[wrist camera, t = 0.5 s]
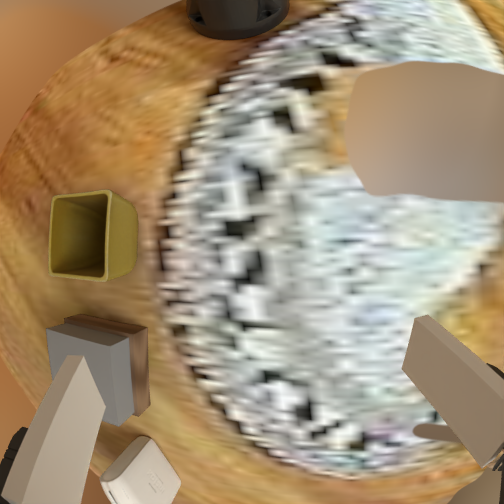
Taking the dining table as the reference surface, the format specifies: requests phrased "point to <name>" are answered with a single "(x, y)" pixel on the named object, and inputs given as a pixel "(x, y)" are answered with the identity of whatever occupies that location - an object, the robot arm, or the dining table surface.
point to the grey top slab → (97, 365)
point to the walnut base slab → (137, 353)
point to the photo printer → (140, 476)
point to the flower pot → (92, 236)
